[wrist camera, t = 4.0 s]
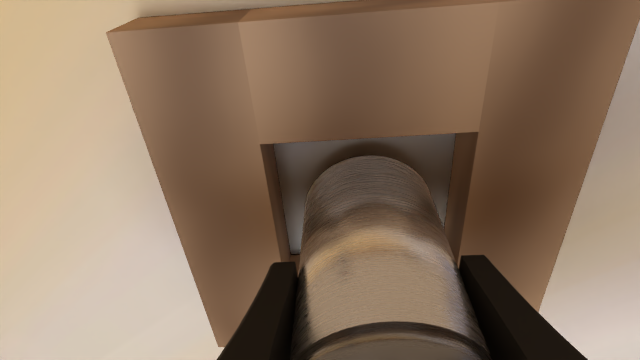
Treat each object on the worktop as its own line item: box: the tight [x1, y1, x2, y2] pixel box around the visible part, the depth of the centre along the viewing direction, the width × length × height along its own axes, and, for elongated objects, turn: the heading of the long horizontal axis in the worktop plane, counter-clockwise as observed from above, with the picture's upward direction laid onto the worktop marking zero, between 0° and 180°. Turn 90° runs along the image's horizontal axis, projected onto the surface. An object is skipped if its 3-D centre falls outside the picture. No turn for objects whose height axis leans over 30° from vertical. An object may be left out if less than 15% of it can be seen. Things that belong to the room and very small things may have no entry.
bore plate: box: [106, 0, 640, 347], centre depth 14 cm, size 14×14×2 cm
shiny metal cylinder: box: [290, 156, 492, 360], centre depth 11 cm, size 4×4×7 cm
